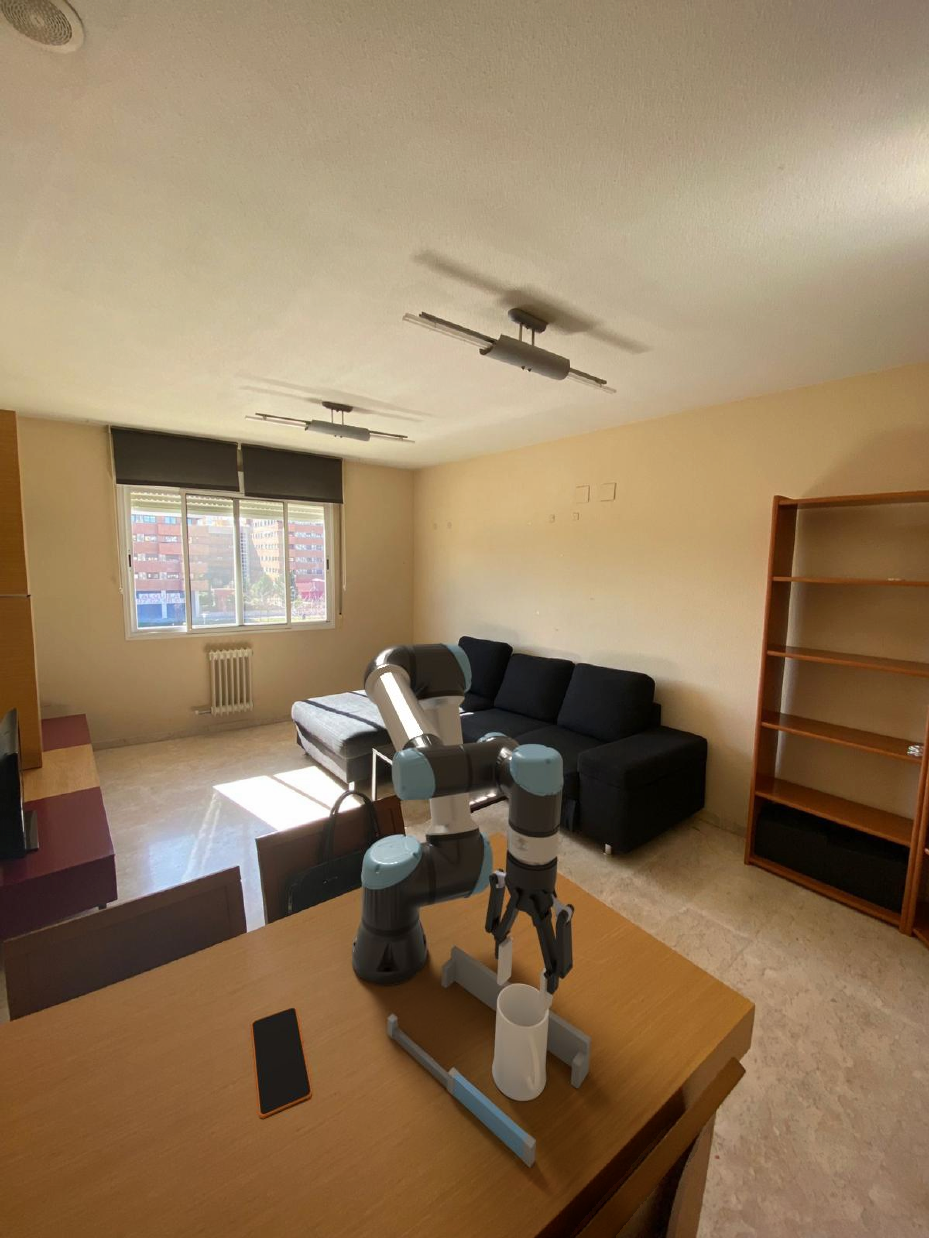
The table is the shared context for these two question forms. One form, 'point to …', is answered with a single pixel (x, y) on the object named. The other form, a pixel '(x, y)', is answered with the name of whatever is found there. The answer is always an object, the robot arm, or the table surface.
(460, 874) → the robot arm
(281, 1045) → the smartphone
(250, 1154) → the table surface
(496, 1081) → the mug
